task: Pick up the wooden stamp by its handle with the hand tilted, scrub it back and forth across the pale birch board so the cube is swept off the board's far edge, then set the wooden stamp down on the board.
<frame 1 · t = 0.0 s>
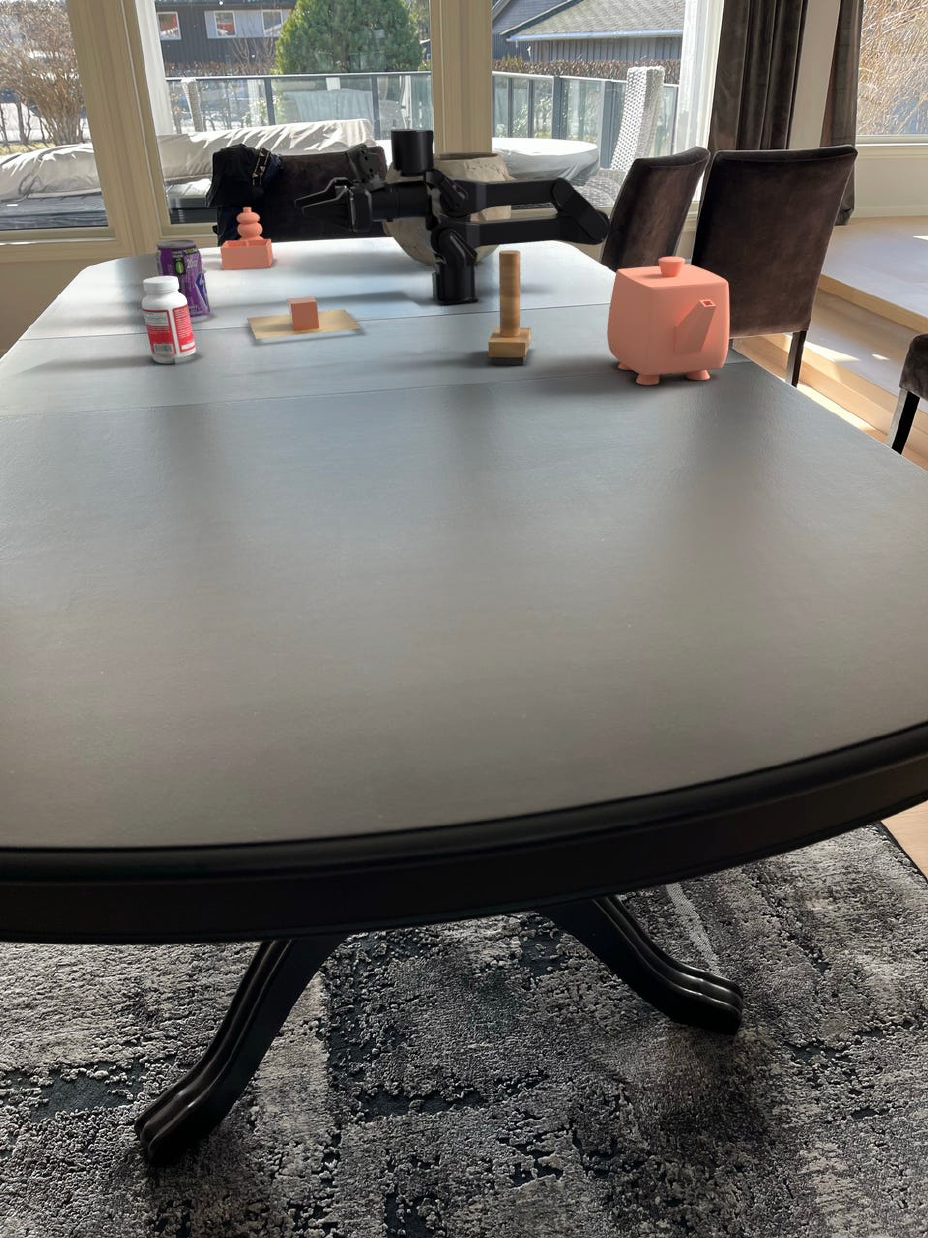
hand: (298, 207, 149), 17 cm above the table, tool horizontal, fingers open, 9 cm apart
artificial flower: (185, 295, 174), on the table
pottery: (251, 261, 203), on the table
wooden stamp: (510, 357, 132), on the table
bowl: (448, 264, 193), on the table
cube: (304, 326, 146), point 1 cm above the table, touching board
teapot: (664, 374, 123), on the table
pill bottle: (175, 360, 136), on the table
board: (303, 329, 149), on the table
beverage can: (189, 319, 158), on the table
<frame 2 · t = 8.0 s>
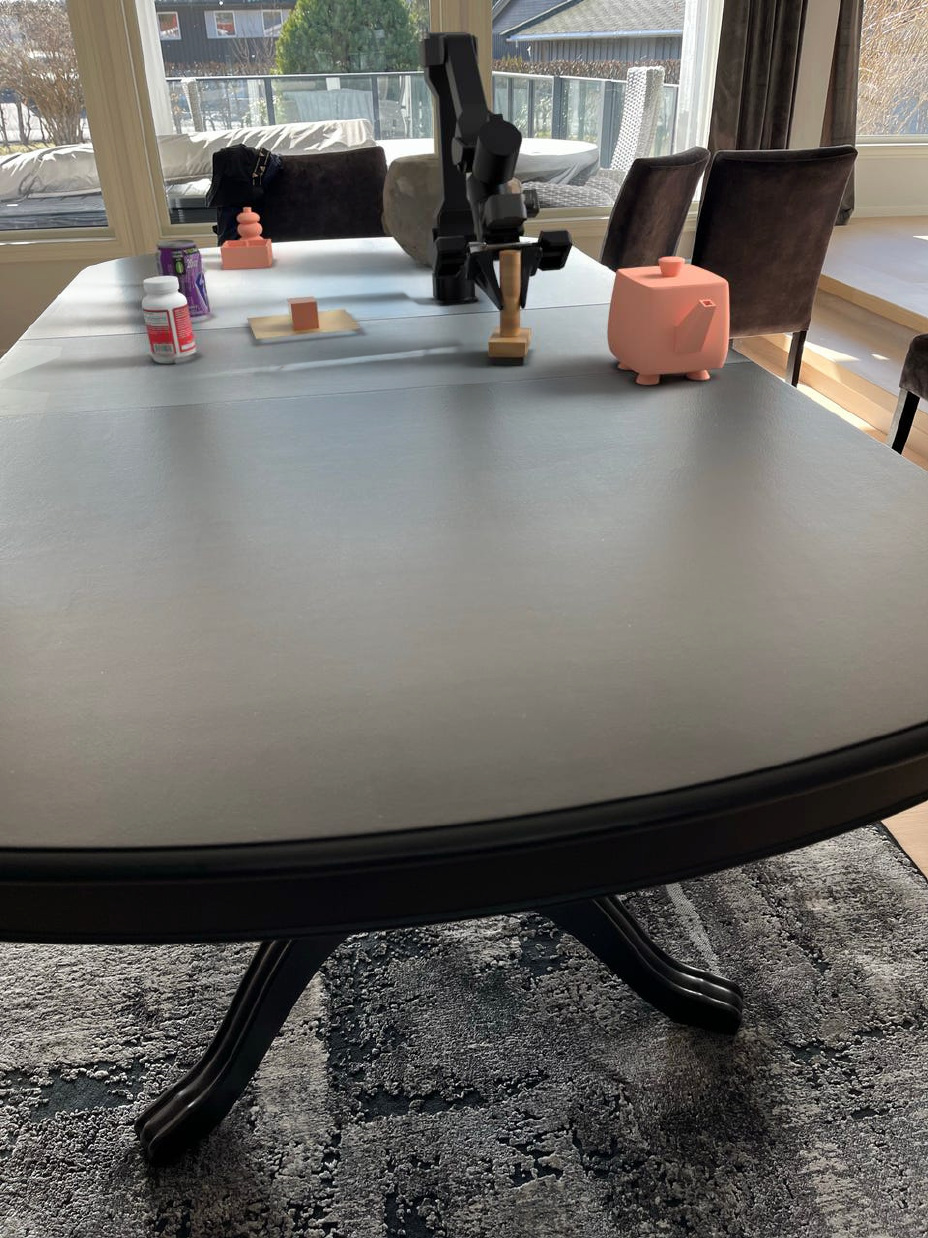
hand: (512, 307, 127), 7 cm above the table, tool tilted 45°, fingers closed on wooden stamp, 3 cm apart
wooden stamp: (510, 357, 132), on the table, touching gripper
everything else where it was.
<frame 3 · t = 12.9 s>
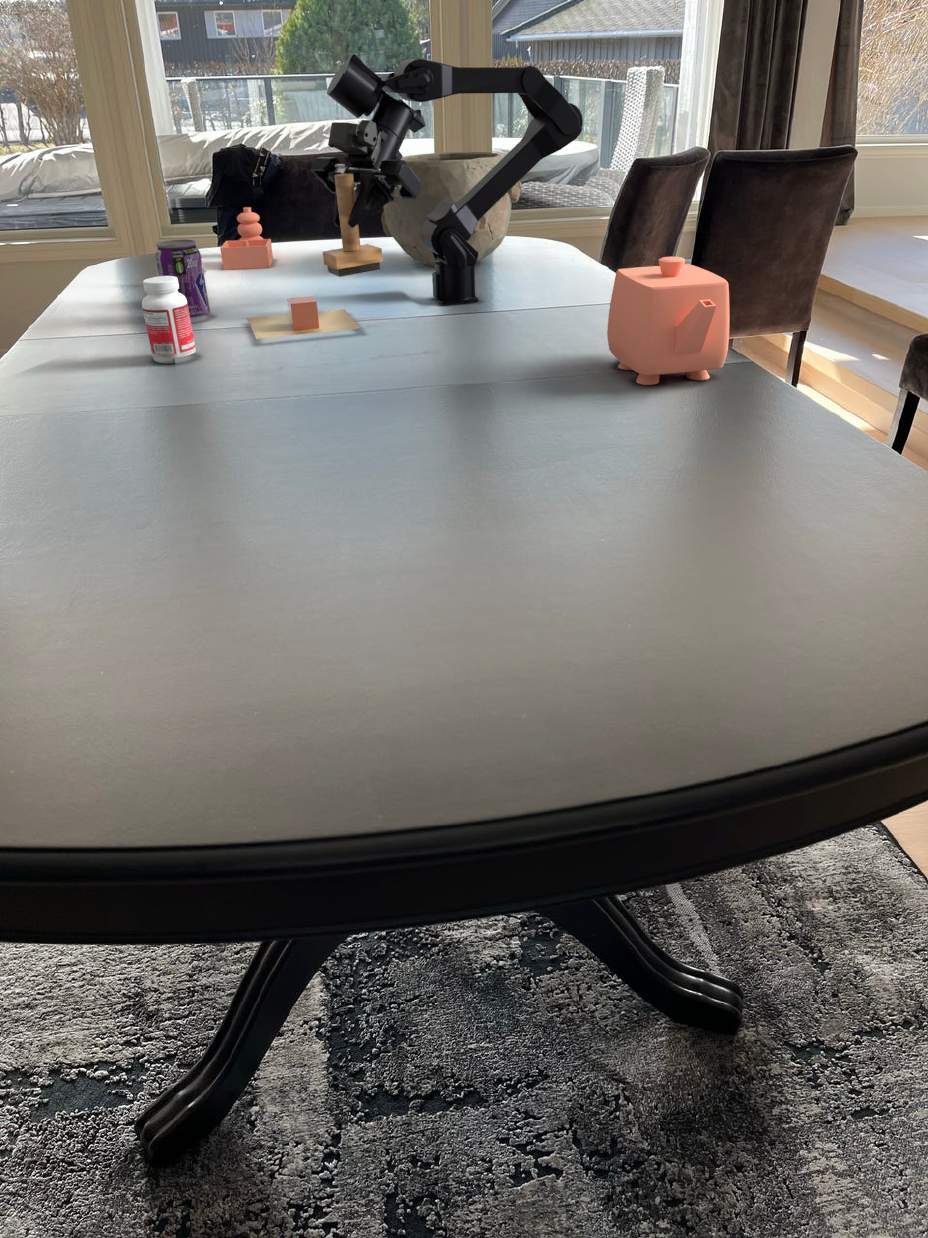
hand: (342, 225, 145), 15 cm above the table, tool tilted 45°, fingers closed on wooden stamp, 3 cm apart
wooden stamp: (354, 270, 150), point 8 cm above the table, touching gripper
everything else where it was.
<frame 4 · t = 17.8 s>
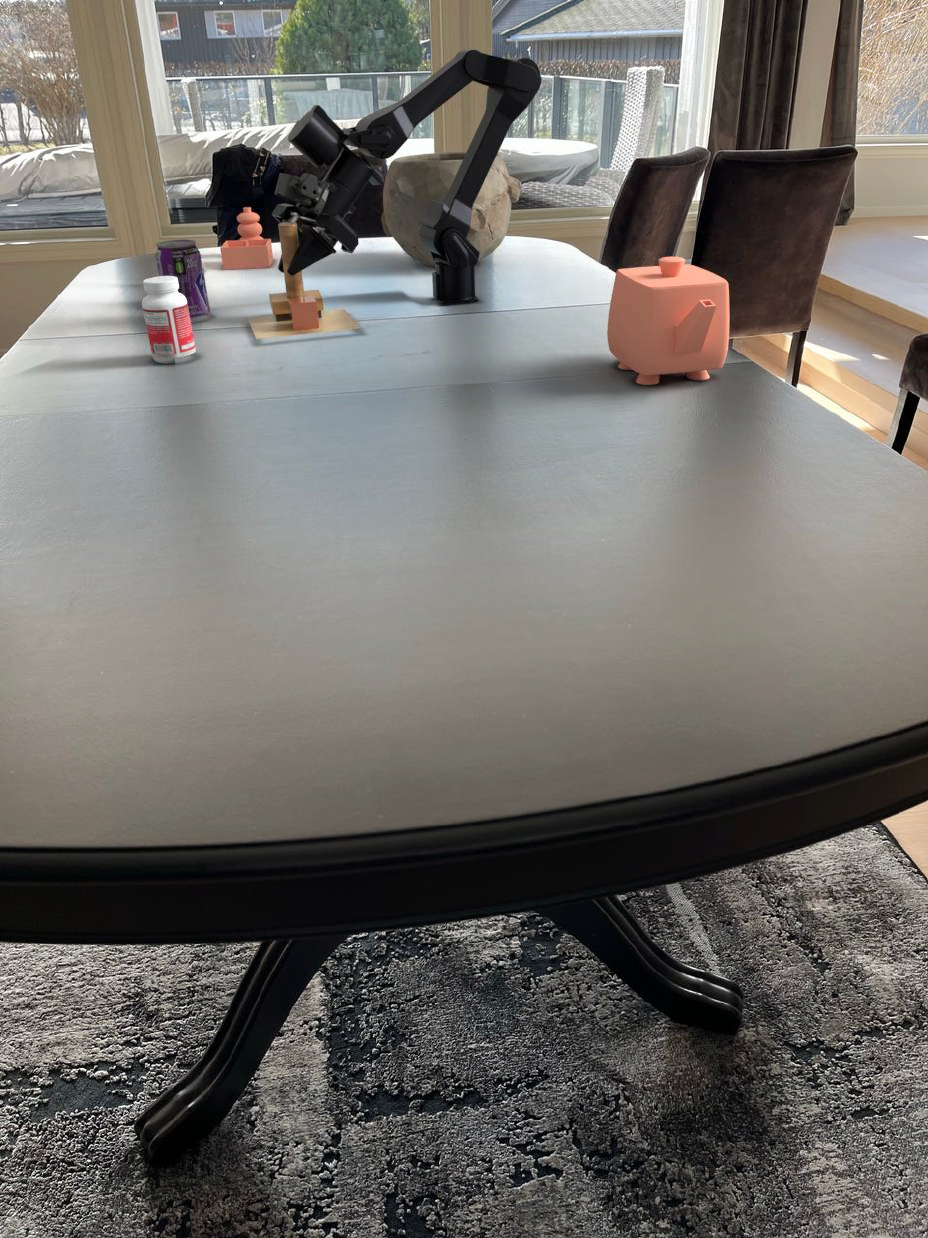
hand: (284, 272, 148), 8 cm above the table, tool tilted 45°, fingers closed on wooden stamp, 3 cm apart
wooden stamp: (297, 315, 152), point 1 cm above the table, touching board, gripper
everything else where it was.
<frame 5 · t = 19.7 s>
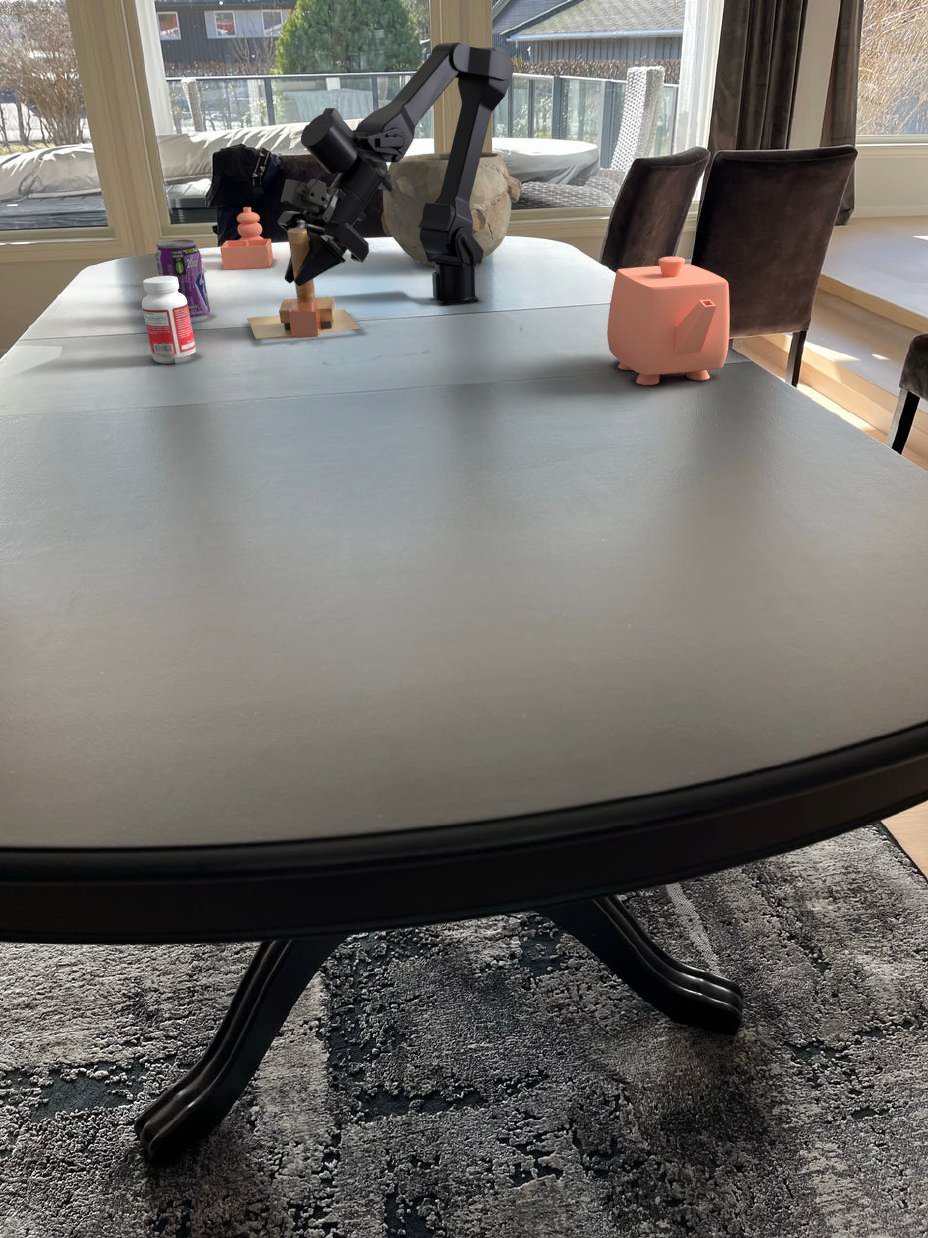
hand: (291, 282, 141), 8 cm above the table, tool tilted 45°, fingers closed on wooden stamp, 3 cm apart
wooden stamp: (309, 324, 146), point 1 cm above the table, tilted 7°, touching gripper
cube: (306, 333, 143), point 1 cm above the table, tilted 6°
everything else where it was.
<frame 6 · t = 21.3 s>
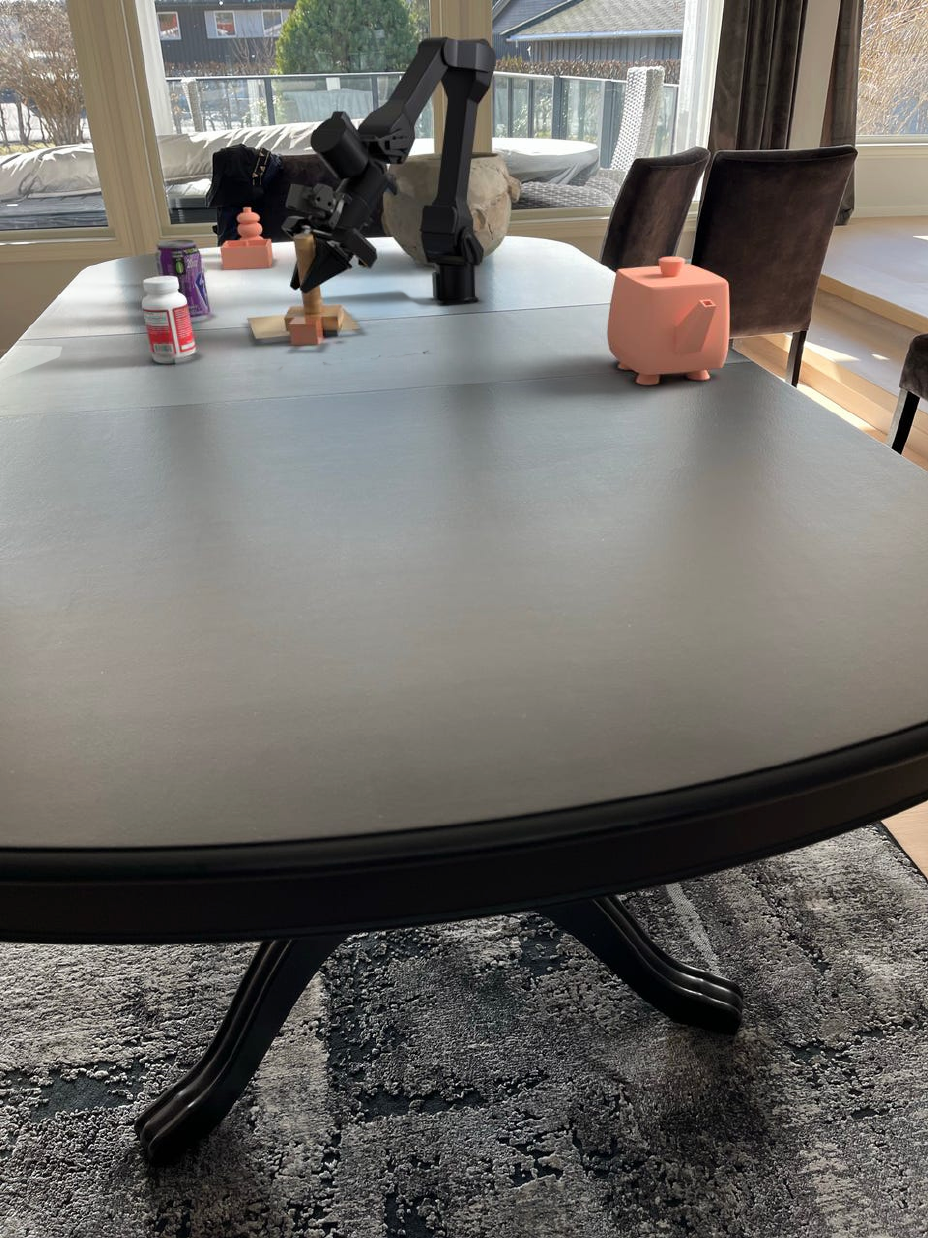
hand: (297, 289, 138), 8 cm above the table, tool tilted 45°, fingers closed on wooden stamp, 3 cm apart
wooden stamp: (316, 331, 143), point 1 cm above the table, tilted 6°, touching cube, gripper
cube: (308, 347, 139), on the table, touching wooden stamp
everything else where it was.
when the fingers open (8 cm above the table, at t = 28.1 s): wooden stamp stays where it is, resting on board.
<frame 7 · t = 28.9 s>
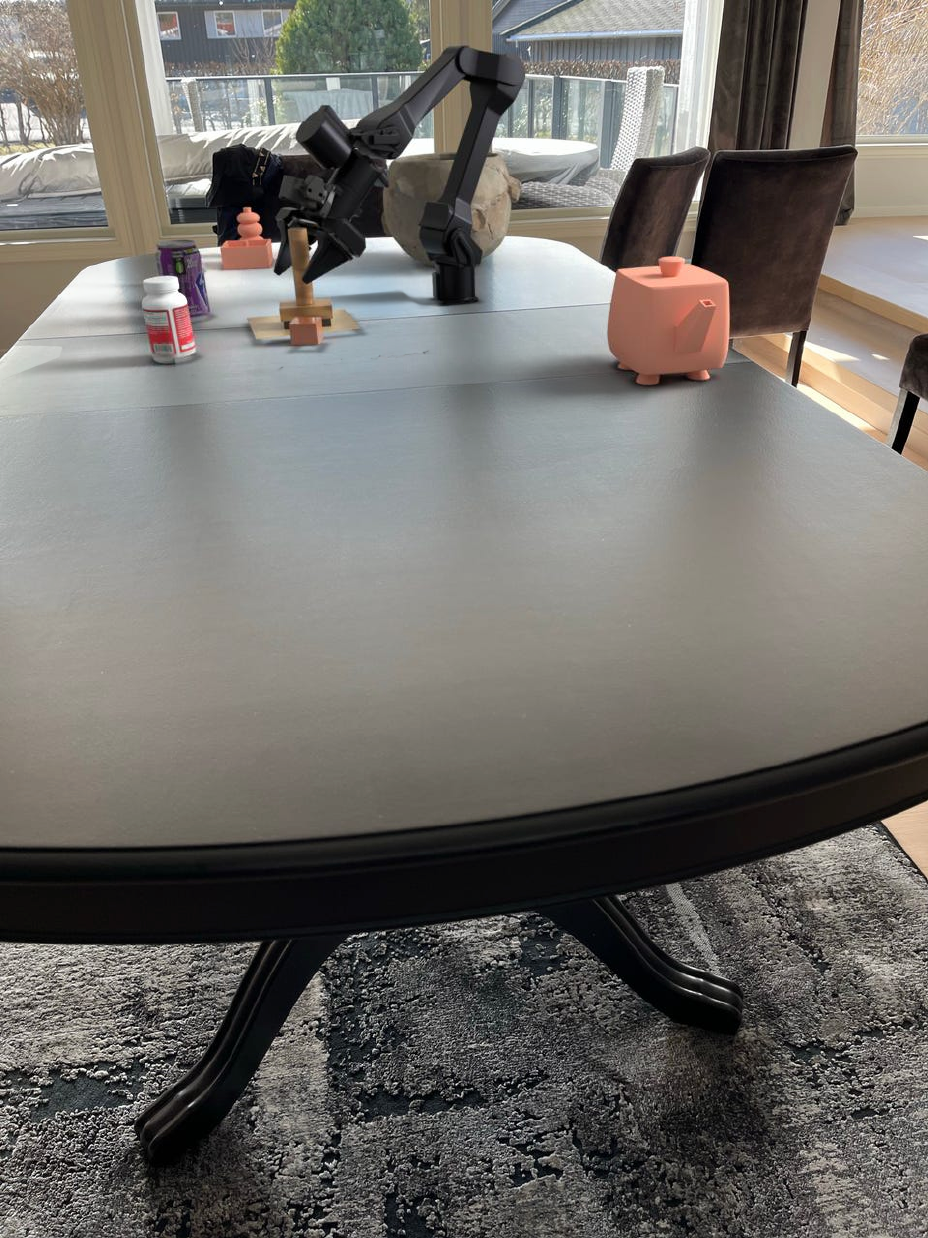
hand: (289, 277, 143), 8 cm above the table, tool tilted 45°, fingers open, 9 cm apart
wooden stamp: (307, 324, 148), point 1 cm above the table, touching board
cube: (308, 348, 139), on the table
everything else where it was.
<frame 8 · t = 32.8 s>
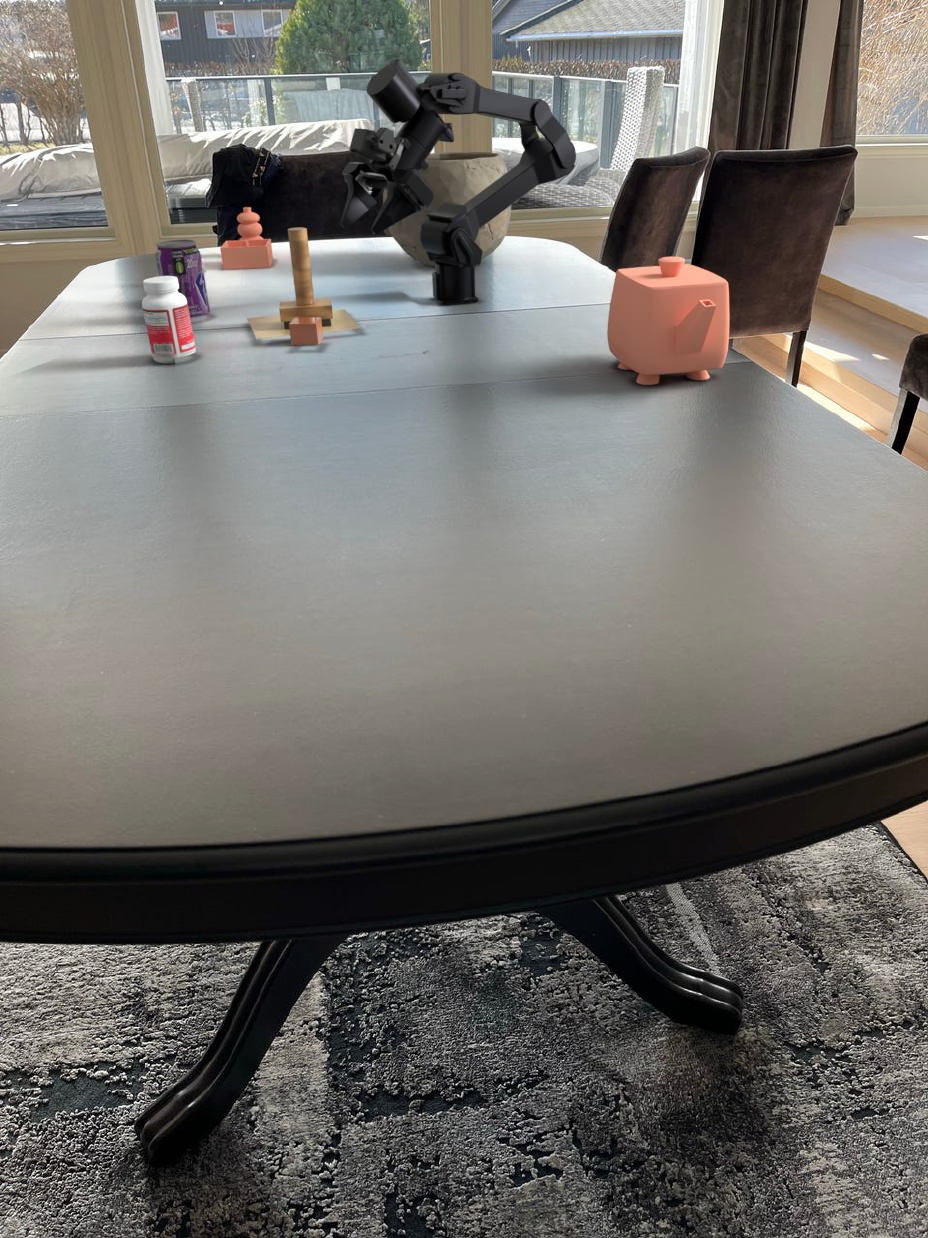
hand: (357, 229, 147), 14 cm above the table, tool tilted 45°, fingers open, 9 cm apart
nothing on the table moved.
at the end: cube inside the target area on the table beside the board (4.6 cm from its centre), on the table; wooden stamp inside the target area on the board (1.4 cm from its centre), point 1.0 cm above the board's base; wooden stamp tilted 0° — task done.
